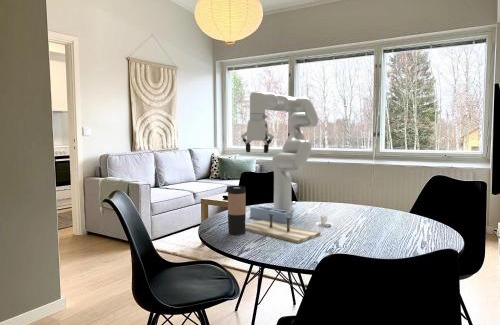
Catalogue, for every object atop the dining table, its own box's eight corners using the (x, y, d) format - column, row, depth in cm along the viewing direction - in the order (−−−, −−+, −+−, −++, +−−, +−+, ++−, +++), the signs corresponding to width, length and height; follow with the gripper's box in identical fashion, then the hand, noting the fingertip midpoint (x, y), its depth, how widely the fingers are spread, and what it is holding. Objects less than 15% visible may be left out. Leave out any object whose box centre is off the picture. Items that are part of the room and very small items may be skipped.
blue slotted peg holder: (258, 215, 199) (258, 205, 199) (292, 222, 184) (292, 211, 184) (250, 216, 195) (250, 207, 194) (284, 224, 180) (284, 213, 179)
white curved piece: (332, 228, 175) (332, 219, 175) (315, 227, 177) (315, 218, 176) (332, 223, 184) (332, 215, 183) (315, 222, 185) (315, 214, 185)
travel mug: (224, 232, 165) (224, 186, 163) (238, 229, 170) (238, 185, 168) (235, 236, 159) (235, 188, 158) (249, 233, 164) (249, 187, 163)
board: (263, 222, 184) (263, 207, 183) (320, 234, 162) (320, 218, 161) (239, 228, 172) (239, 212, 171) (298, 243, 150) (298, 225, 150)
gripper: (276, 117, 187) (276, 152, 188) (245, 118, 195) (245, 151, 196) (270, 117, 180) (269, 153, 182) (238, 117, 188) (237, 152, 190)
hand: (257, 152), depth 189 cm, fingers open, 9 cm apart
